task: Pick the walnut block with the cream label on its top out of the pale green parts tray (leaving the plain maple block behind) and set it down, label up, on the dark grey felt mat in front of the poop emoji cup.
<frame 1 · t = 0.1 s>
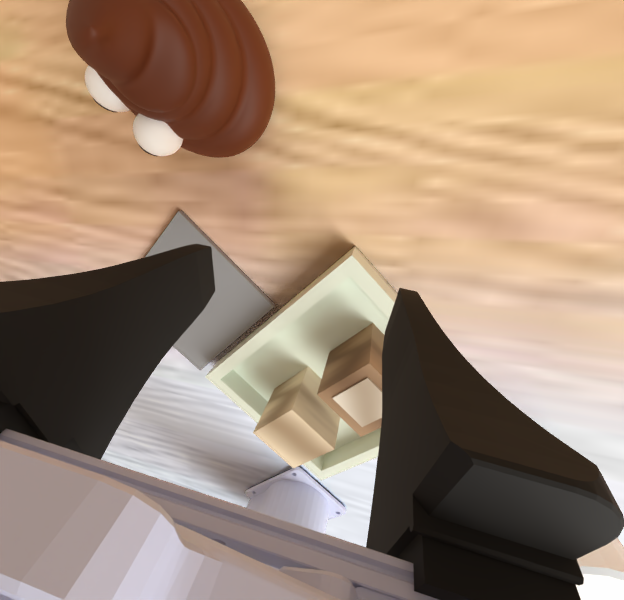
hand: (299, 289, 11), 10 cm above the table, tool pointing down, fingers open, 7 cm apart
felt mat: (193, 299, 26), on the table
walnut block: (368, 357, 24), resting on parts tray
parts tray: (337, 373, 26), on the table
maple block: (308, 394, 27), resting on parts tray
shot glass: (545, 493, 27), on the table
poop emoji: (207, 76, 19), on the table
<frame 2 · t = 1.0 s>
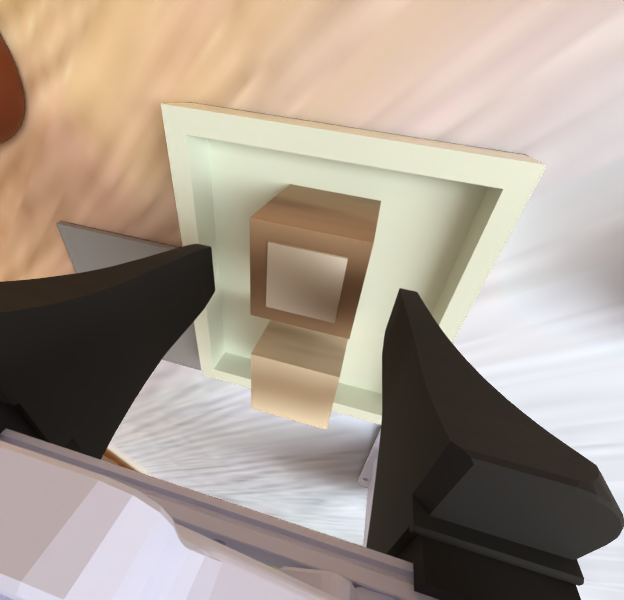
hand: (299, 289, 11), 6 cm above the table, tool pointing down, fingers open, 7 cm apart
felt mat: (145, 303, 23), on the table
walnut block: (328, 235, 16), resting on parts tray
parts tray: (321, 286, 18), on the table
maple block: (313, 333, 20), resting on parts tray
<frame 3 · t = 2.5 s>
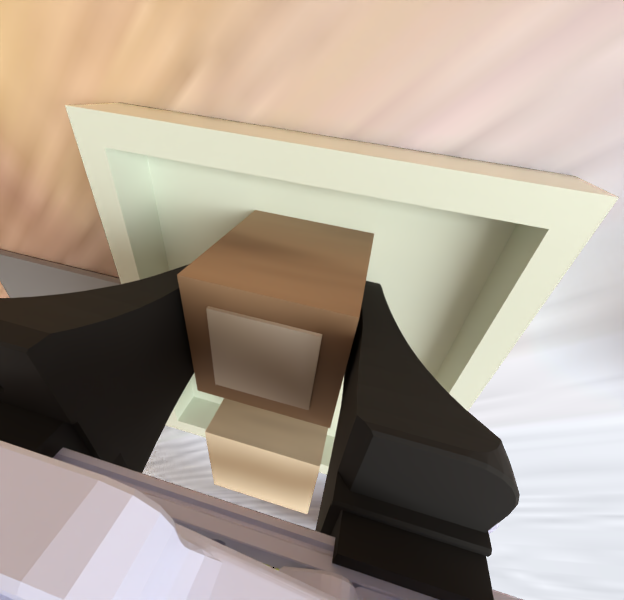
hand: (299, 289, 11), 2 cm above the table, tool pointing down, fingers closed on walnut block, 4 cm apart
felt mat: (99, 340, 19), on the table
walnut block: (307, 273, 12), resting on parts tray, touching gripper
parts tray: (301, 330, 15), on the table
maple block: (294, 383, 17), resting on parts tray
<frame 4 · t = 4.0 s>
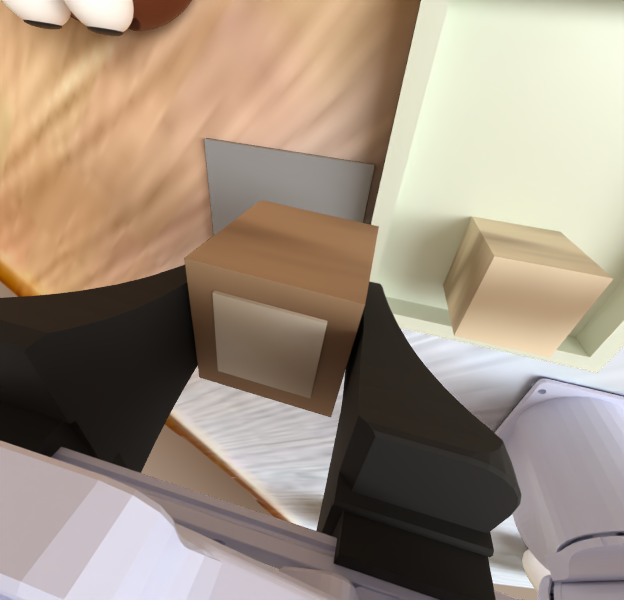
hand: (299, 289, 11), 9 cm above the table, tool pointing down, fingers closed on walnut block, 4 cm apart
felt mat: (283, 239, 21), on the table
walnut block: (310, 265, 12), point 8 cm above the table, touching gripper
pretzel: (579, 555, 34), on the table
parts tray: (524, 198, 16), on the table
maple block: (496, 260, 18), resting on parts tray
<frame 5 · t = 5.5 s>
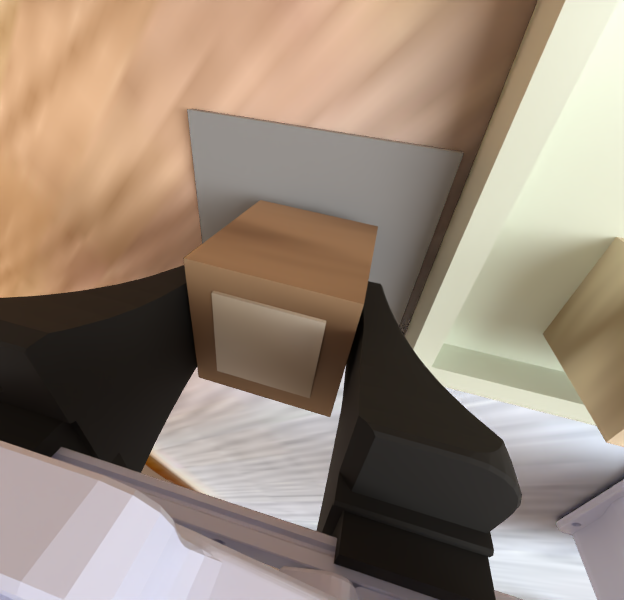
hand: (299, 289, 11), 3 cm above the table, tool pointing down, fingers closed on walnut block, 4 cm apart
felt mat: (305, 261, 14), on the table
walnut block: (309, 265, 12), point 2 cm above the table, touching gripper
when the fingers open (3 cm above the table, at t = 6.2 s): walnut block drops 1 cm, resting on felt mat.
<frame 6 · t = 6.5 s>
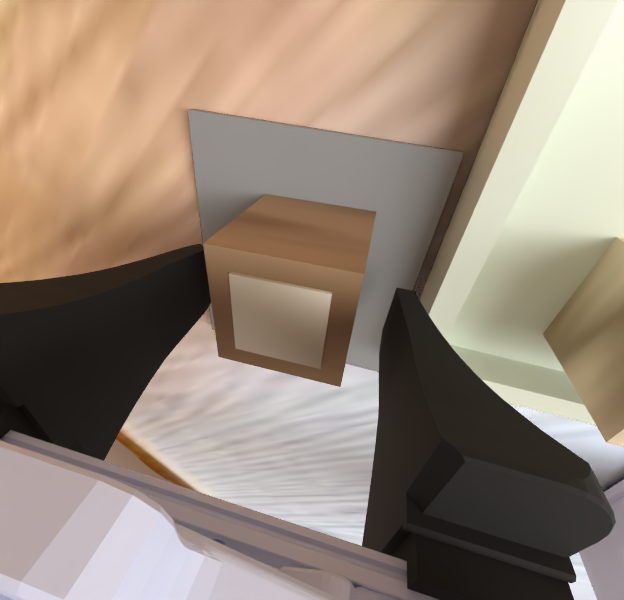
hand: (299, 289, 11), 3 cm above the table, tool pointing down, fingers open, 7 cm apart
felt mat: (305, 261, 14), on the table
walnut block: (315, 253, 13), resting on felt mat
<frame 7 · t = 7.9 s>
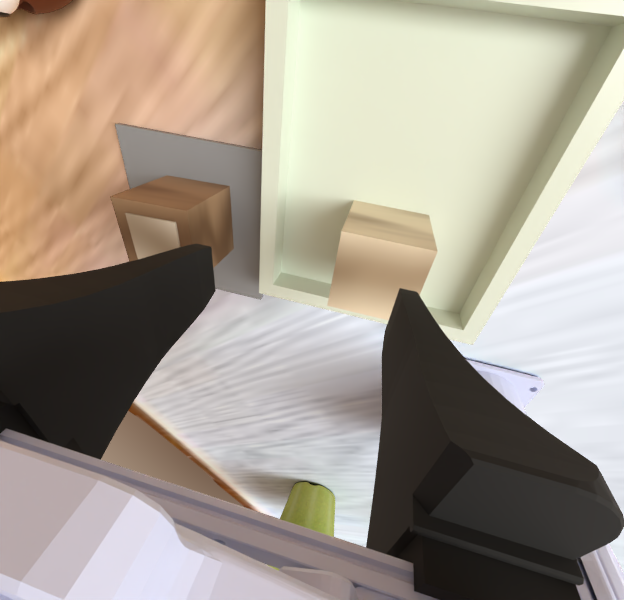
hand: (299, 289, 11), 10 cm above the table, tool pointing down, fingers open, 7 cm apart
felt mat: (199, 220, 22), on the table
walnut block: (202, 213, 21), resting on felt mat
plant pot: (314, 490, 43), on the table
parts tray: (397, 184, 18), on the table
maple block: (381, 241, 19), resting on parts tray
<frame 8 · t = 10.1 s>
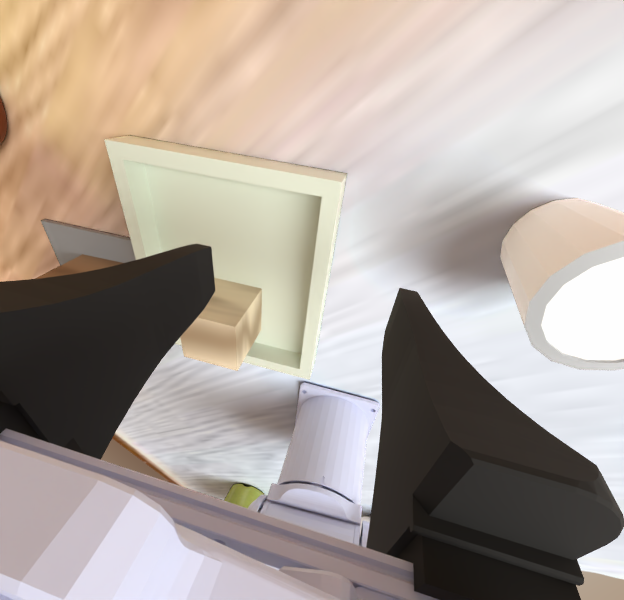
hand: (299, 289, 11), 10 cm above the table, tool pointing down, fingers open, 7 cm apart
felt mat: (112, 283, 29), on the table
walnut block: (112, 280, 28), resting on felt mat
plant pot: (249, 491, 50), on the table
parts tray: (237, 267, 24), on the table
maple block: (237, 304, 26), resting on parts tray
shot glass: (552, 244, 18), on the table
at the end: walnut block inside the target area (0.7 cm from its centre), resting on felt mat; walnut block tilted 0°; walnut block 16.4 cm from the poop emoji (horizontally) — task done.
